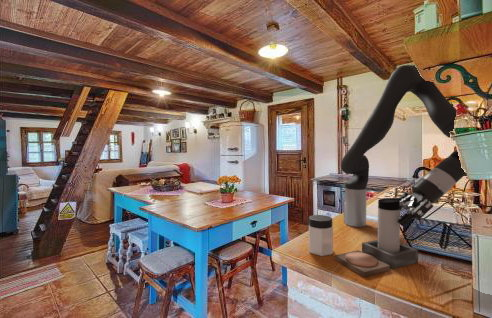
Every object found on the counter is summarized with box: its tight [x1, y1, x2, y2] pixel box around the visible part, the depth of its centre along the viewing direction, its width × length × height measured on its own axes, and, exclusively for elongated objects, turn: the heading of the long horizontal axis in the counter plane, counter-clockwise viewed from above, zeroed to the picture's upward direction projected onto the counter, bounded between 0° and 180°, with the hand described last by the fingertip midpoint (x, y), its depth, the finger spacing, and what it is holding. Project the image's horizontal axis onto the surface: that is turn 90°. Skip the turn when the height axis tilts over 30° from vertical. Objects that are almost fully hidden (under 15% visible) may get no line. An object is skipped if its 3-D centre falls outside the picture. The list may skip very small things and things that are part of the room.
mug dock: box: [334, 239, 419, 278], centre depth 80 cm, size 12×23×4 cm, turn 111°
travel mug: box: [377, 197, 401, 254], centre depth 82 cm, size 6×7×20 cm
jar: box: [307, 214, 334, 257], centre depth 88 cm, size 9×8×12 cm
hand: (393, 220), depth 81 cm, fingers open, 8 cm apart
